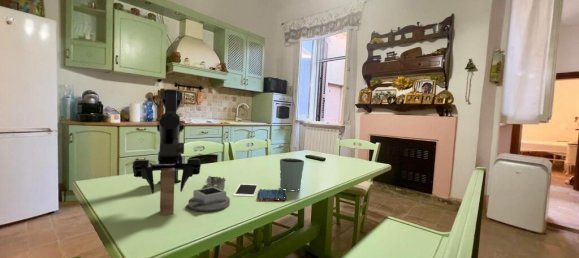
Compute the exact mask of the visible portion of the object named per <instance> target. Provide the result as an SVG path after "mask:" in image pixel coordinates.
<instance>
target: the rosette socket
mask: <svg viewBox="0 0 579 258" xmlns="http://www.w3.org/2000/svg"><path fill="white" fill-rule="evenodd" d="M192 193H193V194H192V195H193V197H190V198H189V199H188V204H187V205H188V208H189V209H190V210H191V211H195V212H197V213H198V212H199V213H212V212H214V213H215V212H219V211H222V209H223V210H225V209H227V208H229V206H230V205H231V204H230V200H231V199H230V197H229V196H227V191H225V190H221V189H219V188H217V187H209V188H207V187H206V188H205V187H204V188H200V189H199V188H198V189H194V190H193V192H192Z"/></svg>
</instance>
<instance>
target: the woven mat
mask: <svg viewBox="0 0 579 258" xmlns="http://www.w3.org/2000/svg"><path fill="white" fill-rule="evenodd" d="M286 195H287V194H286V191H285V190H282V189H262V188H260V189H259V190H258V191H257V195H256V196H257V197H256V200H257V201H258V200H259V201H261V202H262V200H263V201H264V200H266V202H269V201H270V200H272V201H273V200H278V199H279V200H281V201H283V200H285V201H286V200H287V198H286V197H287V196H286ZM284 197H285V198H284ZM268 200H269V201H268Z"/></svg>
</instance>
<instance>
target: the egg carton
mask: <svg viewBox="0 0 579 258" xmlns="http://www.w3.org/2000/svg"><path fill="white" fill-rule="evenodd" d="M205 183H206V188H209V187H217V188H219V189H221V190H223V191H225V186H226V185H225V183H226V179H225V177H221V176H211V175H208V176H207V179H206V180H205Z"/></svg>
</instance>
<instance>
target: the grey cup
mask: <svg viewBox="0 0 579 258" xmlns="http://www.w3.org/2000/svg"><path fill="white" fill-rule="evenodd" d="M304 164H305V161H304V160H303V159H298V158H292V157H291V158H289V157H287V158H284V157H283V158H281V159H279V170H280V172H279V174H280V175H279V177H280V181H279V188H280V187H281V188H282V189H286V190H298V189H300V190H301V188H302V187H301V185H302V179H303V178H302V177H303V170H304ZM281 188H280V189H281ZM282 189H281V190H282ZM298 191H299V190H298Z"/></svg>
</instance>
